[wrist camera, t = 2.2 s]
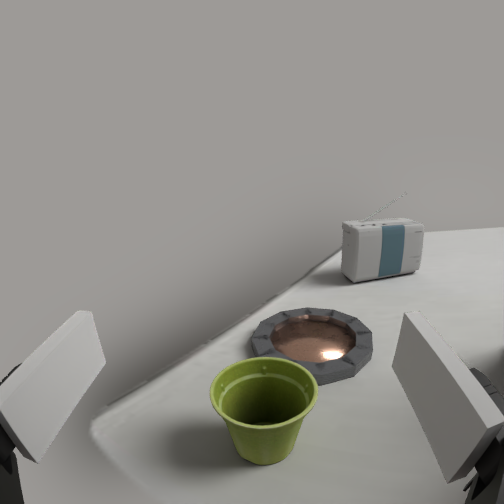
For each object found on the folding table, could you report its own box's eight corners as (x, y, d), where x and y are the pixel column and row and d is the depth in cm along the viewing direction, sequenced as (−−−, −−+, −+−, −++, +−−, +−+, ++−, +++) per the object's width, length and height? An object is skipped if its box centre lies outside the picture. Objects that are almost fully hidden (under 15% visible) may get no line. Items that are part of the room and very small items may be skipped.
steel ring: (369, 321, 50) (370, 312, 50) (371, 389, 34) (374, 378, 33) (270, 312, 56) (270, 304, 55) (236, 373, 39) (236, 363, 39)
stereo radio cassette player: (353, 286, 65) (358, 195, 59) (336, 274, 73) (339, 191, 67) (420, 274, 69) (428, 195, 63) (401, 264, 77) (407, 191, 71)
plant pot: (323, 463, 24) (336, 409, 21) (229, 487, 22) (219, 437, 19) (292, 406, 33) (295, 349, 30) (213, 422, 30) (203, 365, 28)
